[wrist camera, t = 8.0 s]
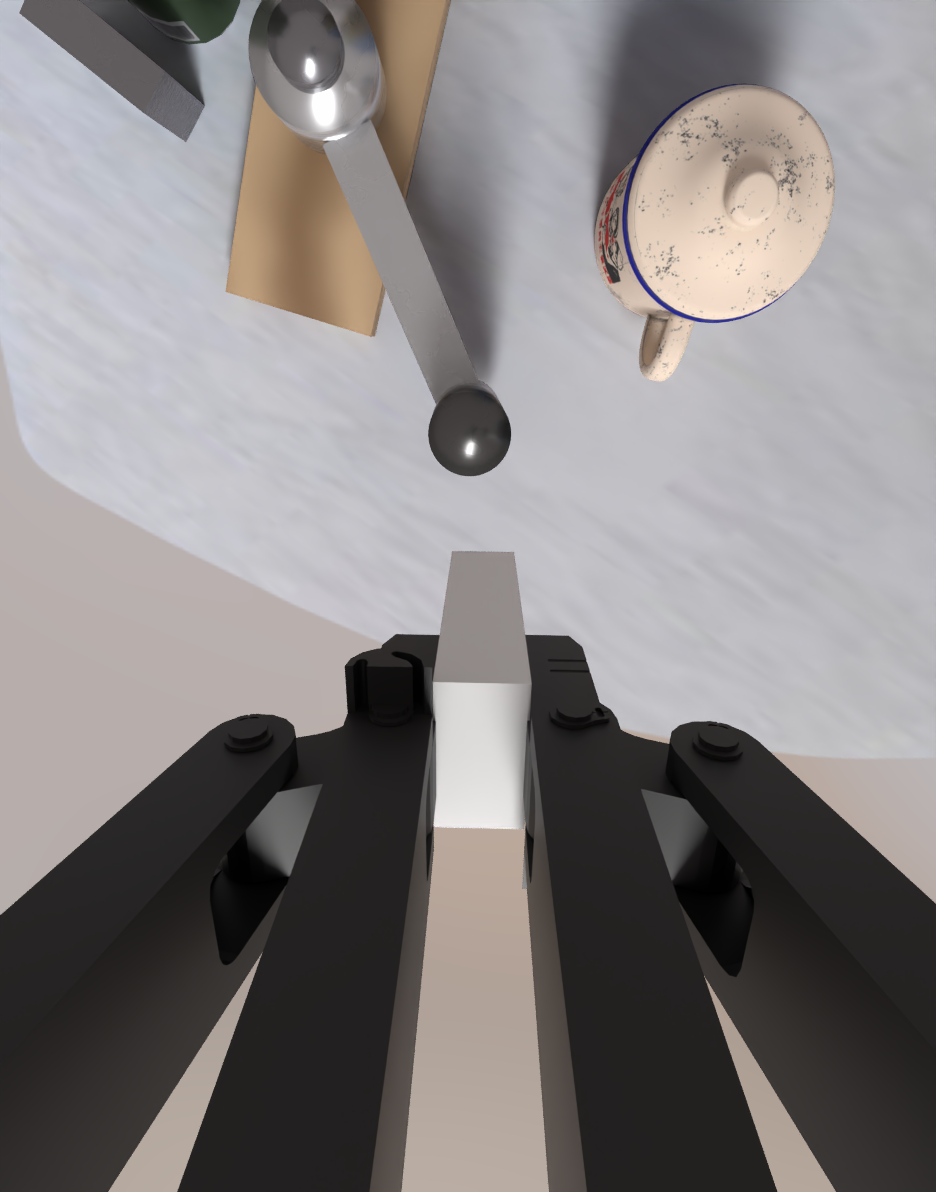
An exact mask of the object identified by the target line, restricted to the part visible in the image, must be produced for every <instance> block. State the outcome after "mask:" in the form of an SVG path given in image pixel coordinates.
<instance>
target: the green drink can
mask: <svg viewBox="0 0 936 1192" xmlns="http://www.w3.org/2000/svg"><path fill="white" fill-rule="evenodd" d="M128 1H129V2H130V3H131V4H132V5H133V6H134V7H135V8H136V9H137V10H138V11H139V12H140V13H141V14H142V15H143V16H144V17H145V18H146V19H147V20H148V21H149V22H150V23H151V24H152V25H153V26H154V27H155V28H156V29H158V30H159V31H161V32H162V33H164V34H165V35H167V36H168V37H170V38H171V39H173V40H176V41H180V42H183V43H187V44H198V43H207V42H209V41H211V40H212V39H214V38H216V37H218V36H220V35H222V34H223V33H224V31H225V30H226V29H227V28H228V27H229V25H230V24H231V23H232V21H233V19H234V16H235V14H236V11H237V9H238V6H239V3H240V0H128Z"/></svg>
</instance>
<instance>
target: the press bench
mask: <svg viewBox="0 0 936 1192" xmlns="http://www.w3.org/2000/svg"><path fill="white" fill-rule="evenodd" d="M355 1H356V3H357V4H358V5H359V7H360V8H361V10H362V11H363V13H364V15H365V17H366V19H367V21H368V23H369V25H370V28H371V31H372V34H373V38H374V41H375V44H376V48H377V51H378V54H379V57H380V61H381V64H382V67H383V71H384V75H385V80H386V106H385V110H384V114H383V117H382V120H381V123H380V125H379V127H378V129H377V130H376V133H377V135H378V138H379V140H380V143H381V145H382V147H383V150H384V152H385V155H386V157H387V160H388V162H389V164H390V167H391V169H392V172H393V174H394V177H395V179H396V181H397V184H398V186H399V189H400V191H401V194H402V196H403V198H404V201H406V196H407V192H408V188H409V183H410V179H411V174H412V170H413V165H414V161H415V157H416V152H417V148H418V143H419V139H420V134H421V130H422V126H423V121H424V117H425V112H426V108H427V103H428V99H429V95H430V90H431V86H432V81H433V77H434V73H435V68H436V64H437V59H438V55H439V50H440V46H441V42H442V37H443V33H444V28H445V24H446V19H447V15H448V11H449V6H450V2H451V0H355ZM226 292H228V293H232V294H235V295H238V296H241V297H244V298H248V299H251V300H254V301H257V302H261V303H264V304H267V305H270V306H273V307H277V308H280V309H283V310H286V311H290V312H293V313H296V314H299V315H303V316H306V317H309V318H312V319H315V320H319V321H322V322H325V323H328V324H332V325H335V326H338V327H341V328H345V329H348V330H351V331H354V332H357V333H361V334H364V335H367V336H370V337H371V336H375V334H376V329H377V325H378V320H379V316H380V311H381V307H382V303H383V298H384V294H385V287H384V284H383V282H382V280H381V278H380V275H379V273H378V271H377V268H376V266H375V264H374V262H373V259H372V257H371V255H370V253H369V250H368V248H367V246H366V243H365V241H364V239H363V237H362V234H361V232H360V230H359V228H358V225H357V223H356V221H355V218H354V216H353V214H352V212H351V209H350V207H349V205H348V203H347V200H346V198H345V196H344V193H343V191H342V189H341V187H340V184H339V182H338V180H337V177H336V175H335V173H334V171H333V168H332V166H331V164H330V162H329V159H328V157H327V155H326V154H323V153H319V152H317V151H314V150H312V149H310V148H308V147H307V146H306V145H304V144H303V143H301V142H300V141H299V140H298V139H297V138H296V137H295V136H294V135H293V134H292V132H291V131H290V130H289V129H288V128H287V127H286V125H285V124H284V123H283V122H282V121H281V120H280V118H279V117H278V116H277V115H276V114H275V113H274V111H273V110H272V109H271V108H270V107H269V106H268V104H267V103H266V101H265V100H264V98H263V97H262V95H261V93H260V92H259V90H258V88H257V85H256V88H255V95H254V102H253V109H252V116H251V123H250V129H249V136H248V143H247V150H246V157H245V164H244V170H243V177H242V184H241V191H240V198H239V204H238V211H237V218H236V225H235V232H234V239H233V245H232V252H231V259H230V266H229V273H228V280H227V286H226Z"/></svg>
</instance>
